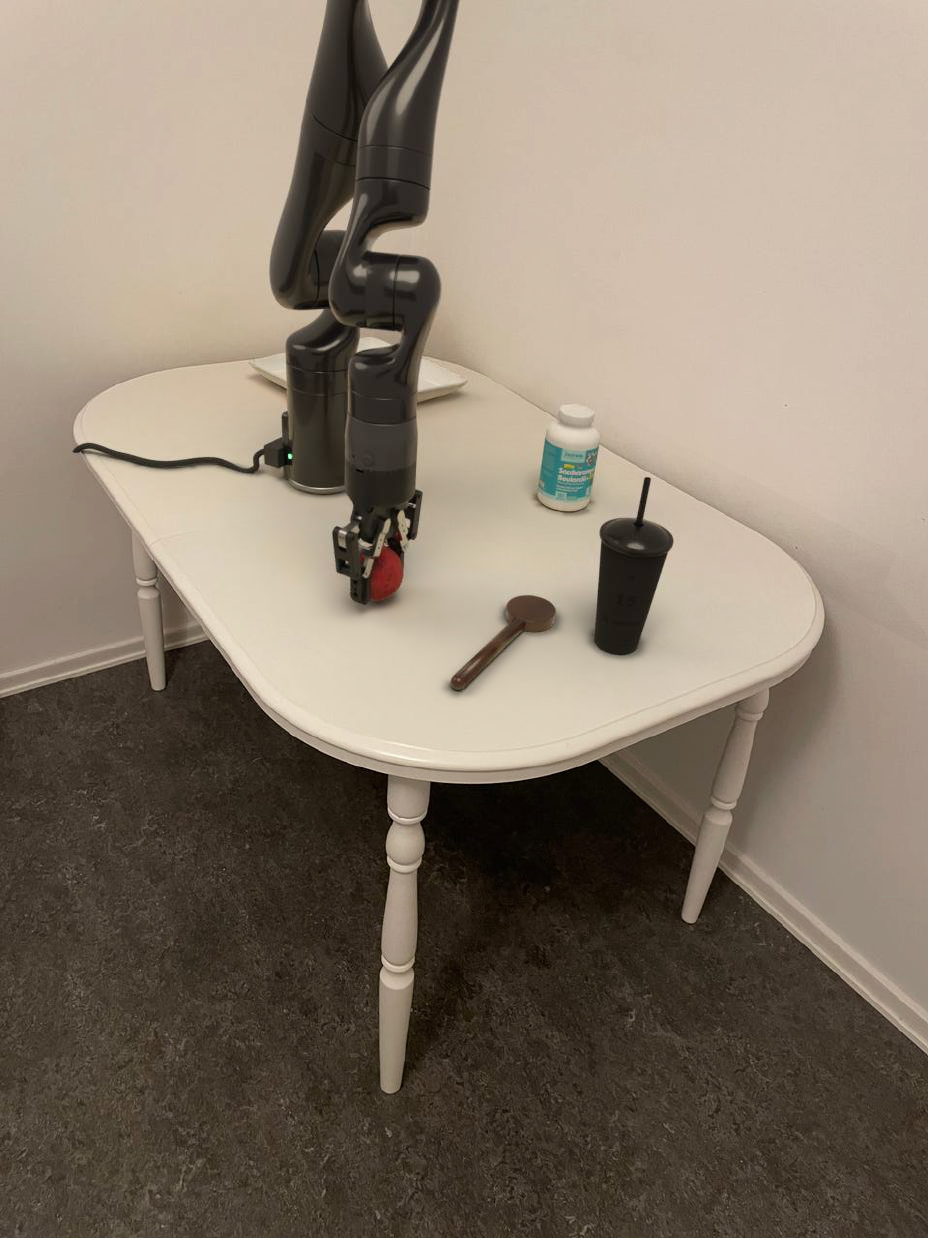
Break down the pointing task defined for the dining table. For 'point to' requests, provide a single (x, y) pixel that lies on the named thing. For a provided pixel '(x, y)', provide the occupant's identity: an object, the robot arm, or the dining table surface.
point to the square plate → (430, 374)
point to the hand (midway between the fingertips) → (377, 589)
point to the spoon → (509, 633)
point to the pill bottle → (569, 459)
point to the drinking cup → (628, 577)
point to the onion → (385, 573)
